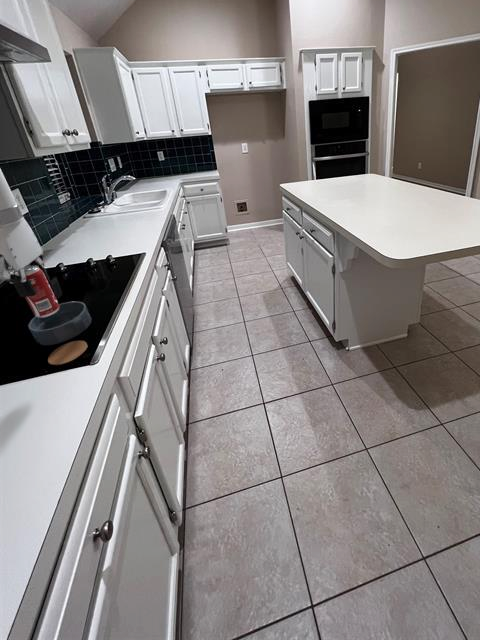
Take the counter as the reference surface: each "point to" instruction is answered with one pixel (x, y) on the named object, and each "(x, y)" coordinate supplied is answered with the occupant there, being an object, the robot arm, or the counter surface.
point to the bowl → (61, 324)
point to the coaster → (67, 352)
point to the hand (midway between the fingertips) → (36, 288)
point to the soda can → (40, 293)
